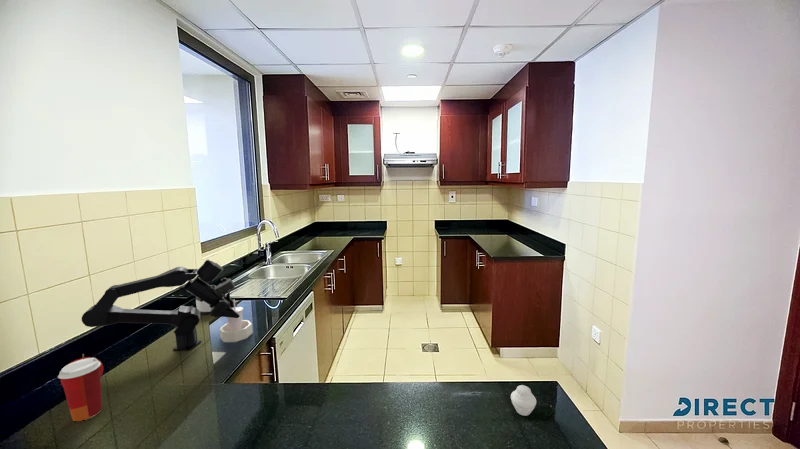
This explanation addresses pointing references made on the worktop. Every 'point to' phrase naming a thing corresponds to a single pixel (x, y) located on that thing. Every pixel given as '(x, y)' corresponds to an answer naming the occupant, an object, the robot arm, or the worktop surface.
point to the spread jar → (203, 306)
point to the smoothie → (235, 319)
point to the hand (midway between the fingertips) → (238, 313)
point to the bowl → (236, 332)
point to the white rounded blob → (523, 400)
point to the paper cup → (82, 388)
